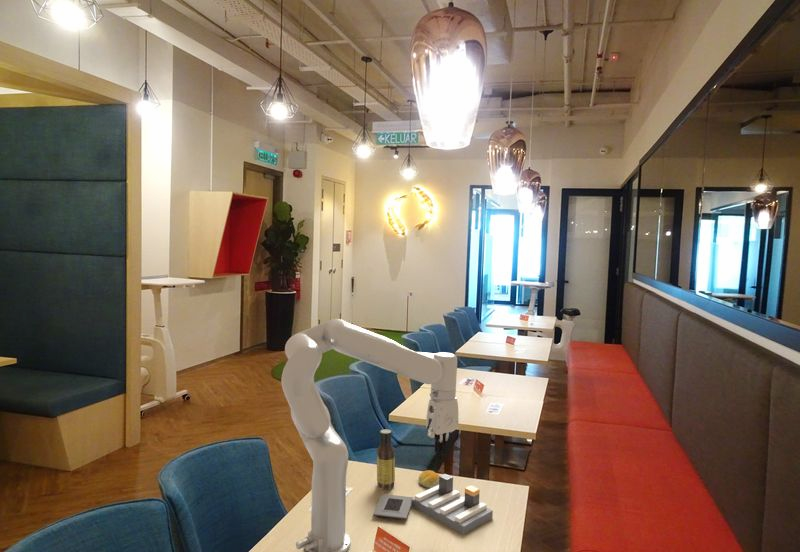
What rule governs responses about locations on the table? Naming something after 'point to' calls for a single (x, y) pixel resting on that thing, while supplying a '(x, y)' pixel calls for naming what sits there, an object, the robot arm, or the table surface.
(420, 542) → the table surface
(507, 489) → the table surface
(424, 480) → the bread roll
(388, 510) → the grey flat block
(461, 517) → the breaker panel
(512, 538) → the table surface
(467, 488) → the block
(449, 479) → the on breaker handle
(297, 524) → the table surface
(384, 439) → the sauce bottle
